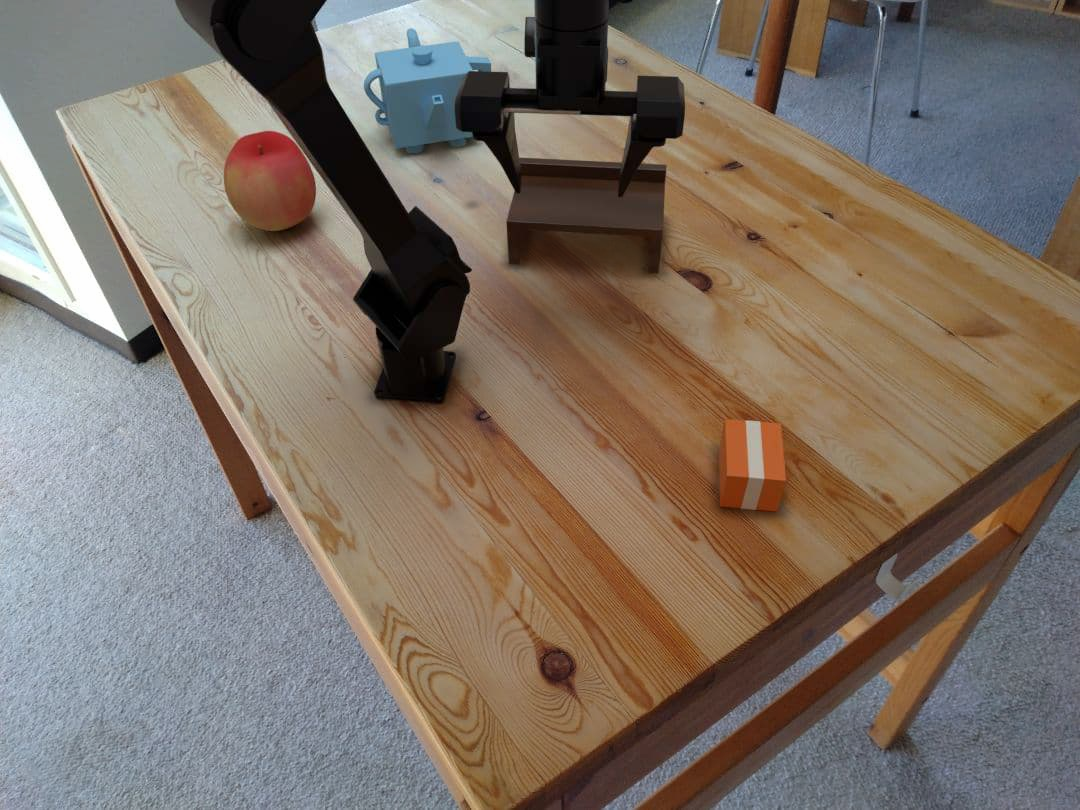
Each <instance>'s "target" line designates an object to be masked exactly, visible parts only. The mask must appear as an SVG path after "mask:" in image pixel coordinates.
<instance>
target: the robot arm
mask: <svg viewBox="0 0 1080 810" xmlns="http://www.w3.org/2000/svg"><path fill="white" fill-rule="evenodd" d="M327 1H328V0H174V2H175V6H176V8H177V10H178V11H179V13H180V15H181V18H182V19H183V20H184V21H185V23H186V24H187V25H188V26H189V27H190V28H191V29H192V30H193V31H194V32H195V33H196V34H197V35H198V36H199V37H200V38H201V39H202V40H203V41H204V42H205V43H206V44H208V46H210V48H211V49H213V51H215V52H216V54H218V56H220V57H221V59H222V60H224V61H225V62H226V63H227V64H228V65H229V66H230V67H231V68H232V69H233V70H234V71H235V72H236V73H237V74H238V75H239V76H241V78H242V79H244V80H245V81H246V83H248V84H249V85H250V86H251V87H252V88H253V89H254V91H256V92H257V94H259V95H260V96H261V97H262V98H263V99H264V100H265V101H266V102H267V103H268V105H269V106H270V108H271V109H272V111H273V112H274V113H275V115H276V116H277V118H278V119H279V120H280V121H281V123H282V124H283V126H284V127H285V128H286V130H287V131H288V132H289V135H290V136H291V137H292V139H293V141H294V142H295V143H296V145H297V146H298V147H299V148H300V150H301V151H302V153H303V154H304V156H305V157H306V159H307V160H308V162H309V163H310V165H312V167H313V168H314V170H315V171H316V173H318V175H319V177H320V178H321V179H322V181H323V182H324V183H325V185H326V187H327V188H328V189H329V190H330V192H331V193H332V195H333V196H334V197H335V199H336V200H337V202H338V203H339V205H340V206H341V208H342V209H343V210H344V212H345V214H347V215H348V217H349V219H350V220H351V221H352V223H353V225H354V226H355V227H356V228H357V230H358V231H359V233H360V235H361V237H362V241H363V248H364V255H365V257H366V260H367V262H368V263H369V266H370V271H369V272H368V274H367V275H366V276H365V278H364V280H363V281H362V283H361V285H360V286H359V288H358V289H357V291H356V293H355V294H354V295H353V299H352V300H353V302H354V304H355V305H356V306H357V307H358V309H359V310H360V312H362V313H363V315H365V316H366V317H368V319H369V320H370V321H371V322H372V323H373V324H374V325H375V337H376V341H377V346H378V350H379V356H380V360H381V364H382V369H381V371H380V374H379V377H378V380H377V382H376V385H375V388H374V391H373V394H374V397H375V399H380V400H392V401H403V402H404V401H405V402H418V403H427V404H428V403H430V404H442V403H443V402H444V401H445V400H446V396H447V393H448V390H449V386H450V382H451V379H452V375H453V371H454V367H455V365H456V360H457V354H456V352H455V351H452V350H445V349H444V348H445V347H448V346H450V345H451V344H453V343H455V341H456V337H457V334H458V330H459V325H460V323H461V317H462V313H463V309H464V306H465V302H466V300H467V296H468V295H470V293H471V284H470V283H471V282H470V281H469V277H468V276H467V274H469V273H471V272H472V270H473V269H472V268H471V266H470V265H468V264H467V263H466V262H465V261H463V259H461V256H460V252H459V250H458V247H457V245H456V243H455V241H454V239H453V237H452V236H451V235H449V234H448V233H447V232H446V231H445V230H444V229H443V228H442V227H441V226H439V224H437V223H436V222H435V221H434V220H432V219H431V217H430V216H428V214H426V213H425V212H424V211H423V210H421V209H420V208H419V207H418V206H417V205H415V206H414V207H412V209H411V210H410V211H408V210H407V209H406V207H405V205H404V204H403V202H402V201H401V199H400V197H399V196H398V194H397V192H396V191H395V189H394V188H393V186H392V184H391V182H389V181H390V180H388V178H387V176H386V175H385V174H384V172H383V170H382V169H381V167H380V165H379V163H378V162H377V161H376V159H375V157H374V156H373V154H372V153H371V151H370V149H369V147H368V146H367V145H366V143H365V142H364V140H363V138H362V136H361V135H360V133H359V132H358V130H357V129H356V127H355V125H354V124H353V122H352V121H351V119H350V117H349V116H348V114H347V112H346V111H345V109H344V107H343V106H342V104H341V103H340V102H339V100H338V98H337V97H336V95H335V93H334V92H333V89H332V88H331V86H330V85H329V81H328V78H327V72H326V66H325V59H324V52H323V48H322V45H321V43H320V41H319V38H318V34H317V32H316V31H315V28H314V26H313V20H314V19H315V18H316V16H317V15H318V13H319V12H320V11H321V9H322V8H323V6H324V5H325V3H326V2H327ZM635 1H637V0H615V2H617V3H620V4H629V3H632V2H635ZM533 5H534V16H525V18H524V19H525V21H524V22H525V23H524V42H523V45H524V47H523V48H524V49H523V51H524V52H523V53H524V57H525V58H535V61H534V63H535V88H529V87H528V88H522V87H511V83H510V82H511V81H510V75H509V72H508V71H491V72H488V71H478V70H473V71H468V72H467V74H466V75H465V76H464V77H463V78H462V81H461V84H460V87H459V90H458V93H457V96H456V99H455V121H456V128H457V129H458V130H460V131H461V132H472V136H473V137H472V139H473V140H474V141H478V142H483V143H484V144H485V146H486V147H487V148H488V149H489V150H490V152H491V153H492V154H493V156H494V157H495V159H496V160H497V162H498V163H499V165H500V167H501V169H502V170H503V172H504V174H505V176H506V177H507V179H508V181H509V183H510V185H511V186H512V189H513V191H515V192H516V193H521V187H522V184H521V166H520V159H519V158H520V154H519V146H518V141H517V134H516V123H515V119H516V118H515V114H541V115H571V116H572V115H573V116H576V115H577V116H603V117H605V116H607V117H611V116H612V117H629V122H628V128H627V133H626V139H625V142H624V143H625V144H624V147H623V148H624V149H623V155H622V158H621V162H622V164H621V169H620V174H619V185H618V197H623V195H624V193H625V191H626V189H627V187H628V185H629V183H630V182H631V180H632V178H633V176H634V174H635V172H636V170H637V169H638V167H639V165H640V164H641V163H642V164H643V161H645V159H646V158H647V156H648V155H649V153H650V152H651V151H652V149H653V148H661V147H664V146H665V145H666V142H667V139H669V140H671V139H672V140H676V139H678V138H680V137H683V136H684V135H683V134H684V125H685V118H686V117H685V116H686V115H685V114H686V97H685V95H686V94H685V84H684V83H683V81H682V80H681V79H680V77H679V76H672V75H671V76H670V75H667V76H665V75H637V77H636V90H635V91H632V90H631V91H629V90H627V91H626V90H606V83H607V82H608V68H609V67H608V65H609V47H608V37H609V36H608V35H609V12H610V11H609V10H610V9H609V8H610V0H534V3H533Z"/></svg>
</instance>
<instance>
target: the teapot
mask: <svg viewBox="0 0 1080 810" xmlns="http://www.w3.org/2000/svg"><path fill="white" fill-rule="evenodd" d="M406 37H407V44H408V45H407V47H405V48H398V49H390V50H381V51H375V52H374V58H375V64H376V69H373V70H371V71H370V72H369V73H368V74H366V77H365V79H364V82H363V90H364V92H365V95H366V96H367V97H368V99H369V100H370V101H371V102H372V103H373V104H374V105H375V106H376V107H377V108H378V109H377V110H376V111H375V115H374V117H375V121H376V122H377V124H379V125H380V126H387V127H388V129H389V130H388V131H389V134H390V136H391V139H392V144H393V146H394V149H395V150H396V149H402V148H403V149H404V148H405V151H406V153H409V154H419V153H421V152H423V151H424V146H425V145H427V144H435V143H441V142H447V143H448V145H449V146H451V147H456V148H457V147H462V146H464V145H466V143H467V140H466V139H467V138H473V136H472V132H461V131H460V130H458V129H457V128H456V121H455V99H456V96H457V93H458V90H459V87H460V84H461V81H462V78H463V77H464V76H465V75H466V74H467V72H468V71H488V72H492V62H491V59H489V57H488V56H487V57H486V56H467V55H466V54H465V52H464V50H463V47H462V45H461V43H460V42H459V41H451V42H449V41H448V42H442V43H434V44H427V45H425V44H424V45H423V44H422V45H421V41H420V38H419V35H418V32H417V31H416V29H414V28H412V27H411V28H408V29H407V30H406ZM377 79H378V82H379V88H380V94H381V99H380V98H379V97H378V96H377V95H376V94H375V92H374V91H373V89H372V88H371V84H372V83H373V82H374V81H375V80H377ZM382 114H384V117H381V115H382Z"/></svg>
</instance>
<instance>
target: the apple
mask: <svg viewBox="0 0 1080 810" xmlns="http://www.w3.org/2000/svg"><path fill="white" fill-rule="evenodd" d="M223 185H224V190H225V194H226V197H227V200H228V201H229V204H230V205H231V207H232V209H233V210H234V212H236V214H237V215H239V217H240V218H241V219H242V220H243V221H245V222H246V223H247V224H249V225H251V226H252V227H254V228H257V229H259V230H263V231H267V232H268V231H269V232H279V231H283V230H286V229H289V228H292V227H294V226H296V225H298V224H300V223H301V222H303V221H304V220H305V219H306V218H307V217H308V216H309V215H310V214H311V213H312V211H313V209H314V206H315V204H316V197H317V185H316V177H315V175H314V172H313V169H312V168H311V164H310V162H309V160H308V158H307V157H306V155H305V154H304V152H303V151H302V150H301V148H300V147H299V145H298V144H297V143H296V141H295V140H294V139H293V138H291V137H289V136H288V135H287V134H284V133H281V132H278V131H275V130H263V131H258V132H254V133H250V134H246V135H243V136H241V137H240V138H239V139H237V141H236V142H235V143H234V144H233V147H232V148H231V150H230V151H229V153H228V155H227V157H226V160H225V162H224V168H223Z"/></svg>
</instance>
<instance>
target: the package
mask: <svg viewBox="0 0 1080 810" xmlns="http://www.w3.org/2000/svg"><path fill="white" fill-rule="evenodd" d="M782 431H783V430H782V423H780V422H768V421H767V422H766V421H759V420H747V419H746V420H744V419H743V420H742V419H733V418H732V419H730V418H729V419H728V418H725V419H724V423H723V428H722V432H721V435H720V436H721V437H720V442H719V446H718V478H719V481H718V482H719V507H721V508H732V509H733V508H734V509H741V510H742V509H743V510H752V511H766V512H767V511H768V512H778V509H779V506H780V503H781V499H782V496H783V493H784V490H785V487H786V483H787V474H786V463H785V452H784V451H785V450H784V441H783V432H782Z"/></svg>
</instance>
